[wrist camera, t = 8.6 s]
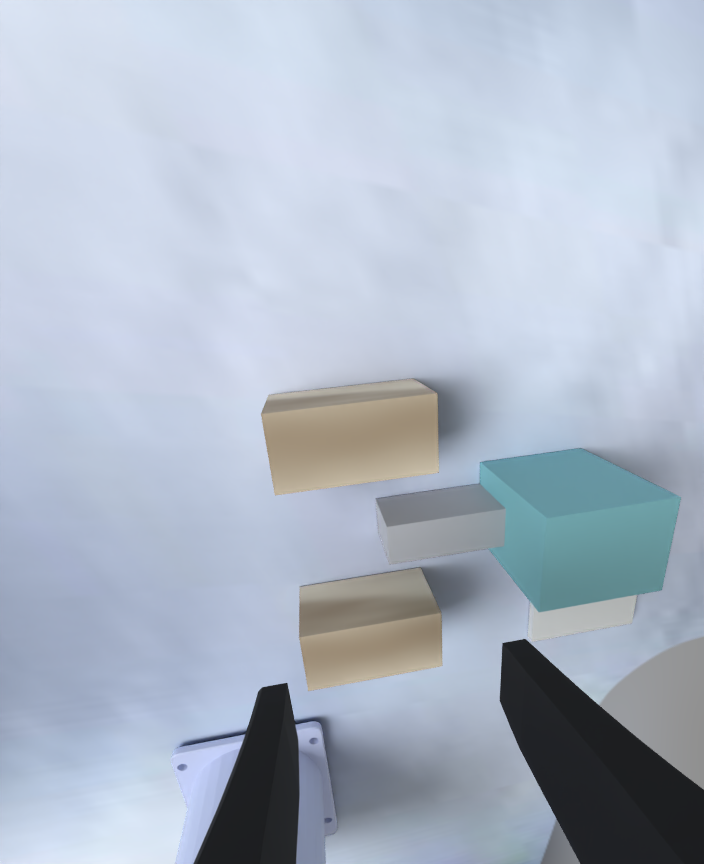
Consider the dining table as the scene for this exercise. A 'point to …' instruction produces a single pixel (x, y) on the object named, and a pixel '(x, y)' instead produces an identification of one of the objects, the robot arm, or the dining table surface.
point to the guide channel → (347, 465)
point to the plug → (544, 526)
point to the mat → (580, 618)
